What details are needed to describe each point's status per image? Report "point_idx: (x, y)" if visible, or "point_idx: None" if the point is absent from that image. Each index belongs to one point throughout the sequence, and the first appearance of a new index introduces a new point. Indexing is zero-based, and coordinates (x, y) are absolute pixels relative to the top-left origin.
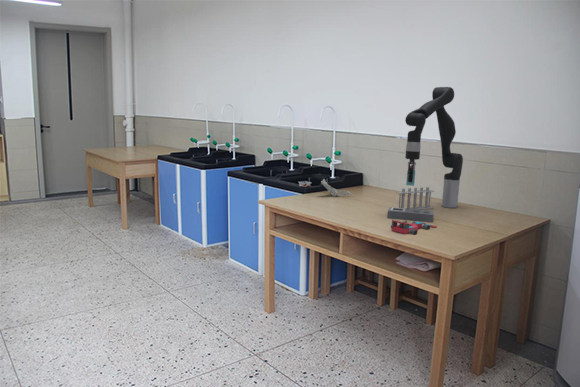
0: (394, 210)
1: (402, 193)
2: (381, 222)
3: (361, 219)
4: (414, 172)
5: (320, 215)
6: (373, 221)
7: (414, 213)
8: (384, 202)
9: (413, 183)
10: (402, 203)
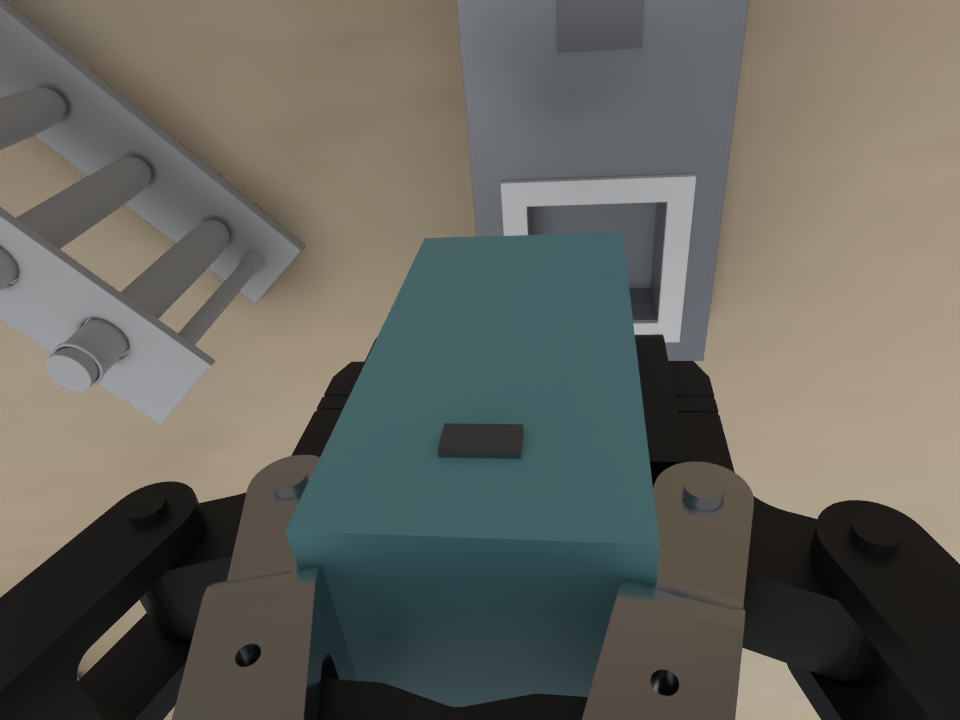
0: (684, 295)
1: (184, 341)
2: (935, 338)
3: (838, 497)
4: (654, 508)
5: (777, 710)
6: (902, 406)
7: (745, 13)
8: (3, 423)
9: (622, 271)
10: (202, 263)
